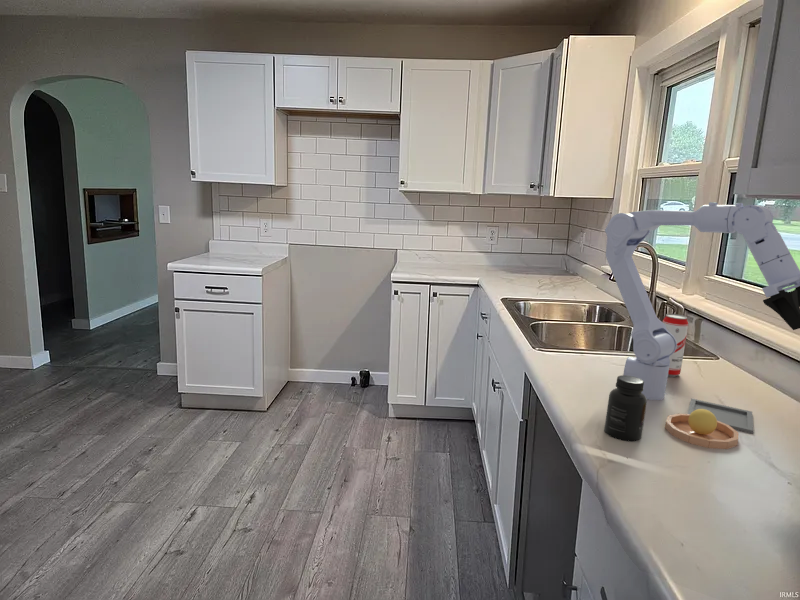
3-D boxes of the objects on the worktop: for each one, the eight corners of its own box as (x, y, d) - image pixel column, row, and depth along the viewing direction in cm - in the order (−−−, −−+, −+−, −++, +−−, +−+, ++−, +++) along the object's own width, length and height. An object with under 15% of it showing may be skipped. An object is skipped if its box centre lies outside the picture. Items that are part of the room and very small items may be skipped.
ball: (685, 434, 108) (689, 410, 107) (687, 425, 112) (691, 402, 111) (714, 441, 106) (718, 417, 105) (715, 432, 110) (719, 409, 109)
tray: (685, 421, 117) (687, 415, 116) (690, 404, 127) (691, 398, 126) (752, 437, 111) (753, 430, 110) (751, 417, 121) (752, 411, 120)
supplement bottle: (648, 444, 105) (657, 385, 102) (615, 445, 104) (624, 385, 101) (628, 429, 111) (636, 372, 109) (597, 429, 110) (604, 373, 108)
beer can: (684, 375, 147) (694, 317, 144) (671, 379, 144) (681, 319, 140) (662, 368, 152) (671, 312, 149) (649, 371, 149) (658, 314, 145)
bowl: (661, 439, 107) (663, 429, 107) (668, 418, 118) (670, 408, 117) (736, 458, 101) (738, 447, 100) (736, 434, 111) (738, 424, 111)
